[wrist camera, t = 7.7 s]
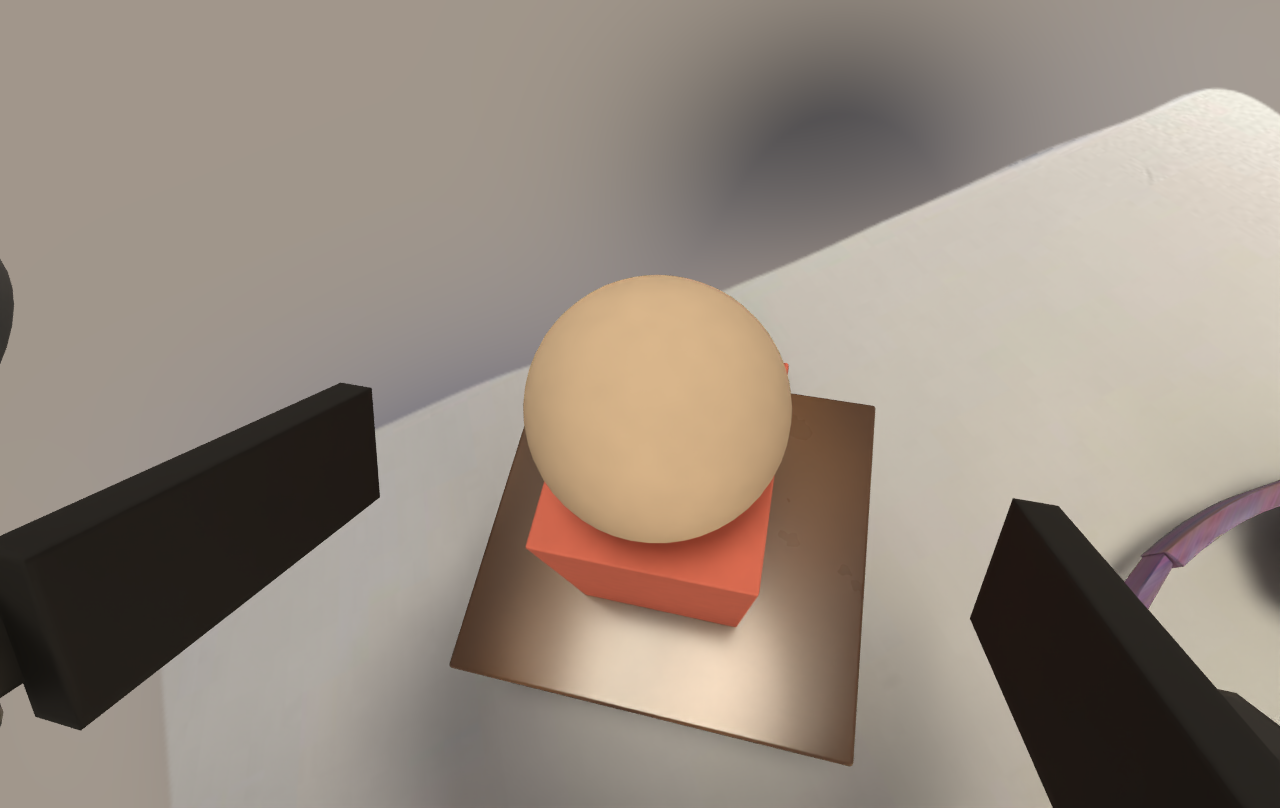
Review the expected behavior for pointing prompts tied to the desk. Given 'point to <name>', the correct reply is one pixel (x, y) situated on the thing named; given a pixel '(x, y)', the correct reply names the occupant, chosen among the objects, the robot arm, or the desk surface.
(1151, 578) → the headphones
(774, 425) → the toy
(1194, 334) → the desk surface
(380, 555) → the desk surface
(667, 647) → the shelf
